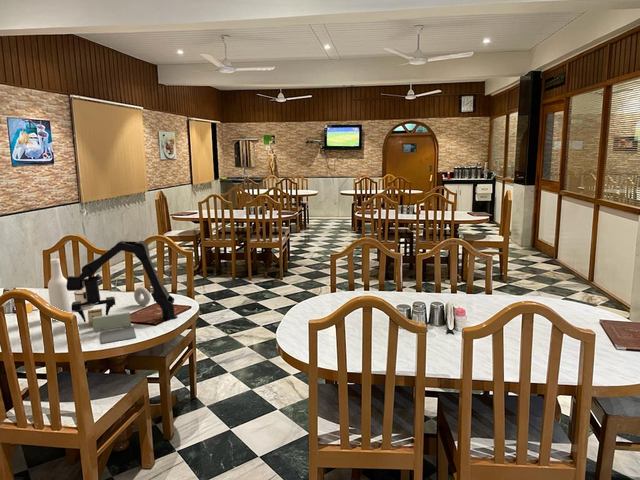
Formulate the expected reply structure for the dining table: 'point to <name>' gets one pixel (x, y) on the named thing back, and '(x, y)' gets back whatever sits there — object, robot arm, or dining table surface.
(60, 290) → the white bottle
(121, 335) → the charcoal pad
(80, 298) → the teacup with lid
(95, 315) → the marked cube
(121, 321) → the sage screen
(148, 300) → the donut
